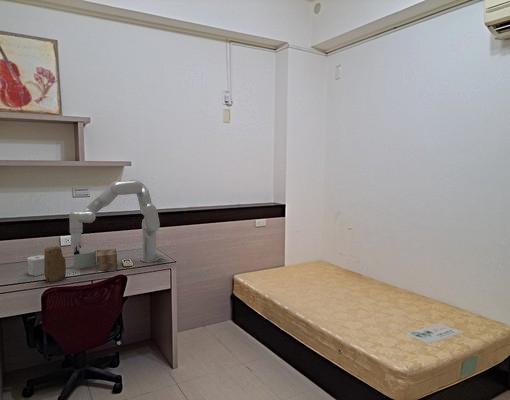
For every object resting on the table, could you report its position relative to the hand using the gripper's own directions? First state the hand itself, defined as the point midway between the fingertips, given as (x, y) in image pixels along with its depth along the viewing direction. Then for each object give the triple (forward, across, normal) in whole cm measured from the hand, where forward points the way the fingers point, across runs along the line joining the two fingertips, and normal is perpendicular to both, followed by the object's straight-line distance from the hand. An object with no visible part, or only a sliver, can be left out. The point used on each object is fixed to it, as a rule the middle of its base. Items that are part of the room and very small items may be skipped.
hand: (76, 257), depth 246 cm
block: (+8, +17, -15) cm, 24 cm away
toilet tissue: (+8, -1, -22) cm, 23 cm away
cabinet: (+7, +10, +16) cm, 20 cm away
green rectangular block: (+6, +2, +5) cm, 8 cm away
